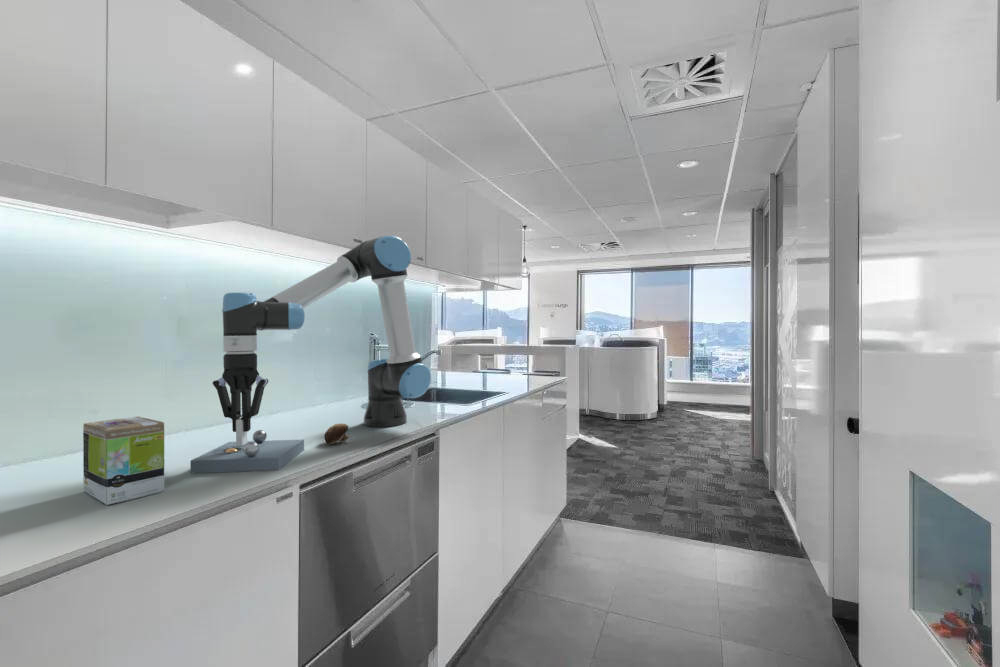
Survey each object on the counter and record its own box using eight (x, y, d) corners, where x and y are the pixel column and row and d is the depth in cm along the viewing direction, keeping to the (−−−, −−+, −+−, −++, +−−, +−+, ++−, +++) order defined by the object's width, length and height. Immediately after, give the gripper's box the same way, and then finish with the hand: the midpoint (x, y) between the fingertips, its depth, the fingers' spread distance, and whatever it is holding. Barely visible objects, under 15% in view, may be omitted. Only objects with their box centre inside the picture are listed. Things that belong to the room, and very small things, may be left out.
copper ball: (242, 447, 117) (228, 446, 117) (235, 449, 114) (221, 449, 114) (240, 460, 117) (227, 459, 117) (234, 463, 114) (220, 462, 113)
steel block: (268, 440, 124) (268, 428, 124) (263, 443, 121) (263, 431, 121) (256, 441, 124) (255, 429, 124) (250, 444, 121) (250, 431, 121)
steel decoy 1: (262, 454, 111) (262, 440, 111) (256, 457, 108) (255, 443, 108) (247, 454, 111) (247, 440, 111) (241, 458, 107) (241, 444, 107)
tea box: (167, 491, 94) (165, 421, 94) (105, 507, 86) (104, 430, 86) (140, 478, 103) (139, 414, 103) (81, 492, 94) (80, 422, 94)
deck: (304, 450, 126) (303, 439, 126) (278, 469, 108) (278, 457, 108) (229, 452, 124) (228, 441, 124) (190, 473, 106) (190, 460, 106)
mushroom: (359, 429, 137) (346, 414, 135) (349, 445, 130) (334, 429, 128) (340, 440, 139) (327, 425, 137) (329, 456, 132) (314, 441, 130)
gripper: (205, 354, 111) (207, 448, 111) (260, 353, 112) (261, 447, 112) (221, 352, 118) (222, 441, 119) (272, 351, 120) (274, 439, 120)
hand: (241, 444), depth 116 cm, fingers closed
